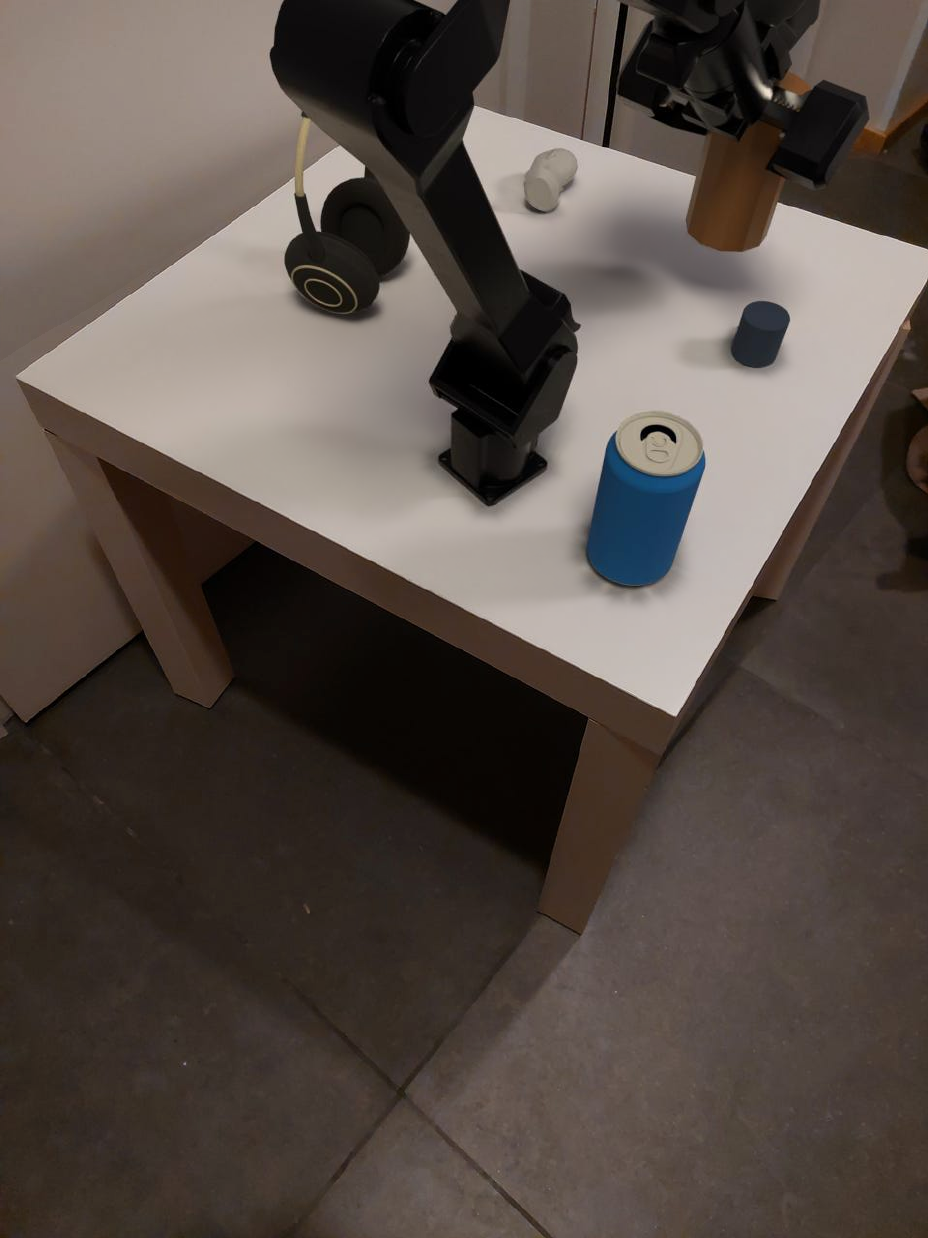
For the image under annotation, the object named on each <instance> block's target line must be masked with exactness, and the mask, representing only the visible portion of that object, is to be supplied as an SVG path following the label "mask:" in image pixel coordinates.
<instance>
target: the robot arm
mask: <svg viewBox="0 0 928 1238" xmlns="http://www.w3.org/2000/svg"><path fill="white" fill-rule="evenodd" d="M616 1H617V2H619V3H621V4H623V5H626V6H628V7H631V8H634V9H636V10H639V11H641V12H644V13H647V14H649V15H651V16H653V19H651V20H650V21H648V22H647V23H646V24H644V26H643V28H642V30H641V32H640V34H639V36H638V38H637V39H636V41H635V43H634V44H633V46H632V48H631V50H630V52H629V54H628V56H627V58H626V60H625V61H624V63H623V65H622V67H621V69H620V71H619V72H618V74H617V79H616V84H615V85H616V86H615V88H616V95H617V97H618V98H619V100H620V101H621V103H622V104H623V106H624V107H627V108H629V109H631V110H632V111H633V110H634V111H635V112H638V113H640V114H643V115H644V116H646V117H648V119H651V120H654V121H656V122H658V123H661V124H662V125H665V126H667V127H669V128H672V129H676V130H679V131H683V132H688V133H691V134H695V135H700V136H703V137H706V133H707V129H708V130H710V131H713V132H715V133H717V134H720V135H722V136H724V137H726V138H729V139H731V140H733V141H735V142H739V140H740V139H741V137H742V135H743V134H744V132H745V130H746V129H747V127H750V126H752V125H753V124H754V123H755V122H756V121H758V120H759V121H761V122H764V123H766V124H768V125H771V126H773V127H775V128H778V129H780V130H782V131H781V133H780V135H779V136H780V139H781V142H780V143H779V145H778V148H777V149H776V151H775V153H774V154H773V156H772V157H771V159H770V161H769V162H768V164H767V166H766V167H765V170H768V171H770V172H772V173H774V174H776V175H779V176H781V177H783V178H785V180H788V181H790V182H792V183H796V184H799V185H802V186H803V187H806V188H807V189H810V190H812V191H814V192H817V191H819V190H821V189H822V190H823V189H824V188H827V187H828V185H829V184H830V183H831V181H832V180H833V178H834V176H835V175H836V173H837V171H838V170H839V168H840V167H841V165H842V164H843V162H844V160H845V159H846V157H847V155H848V154H849V153H850V152H851V149H852V148H853V146H854V145H855V143H856V141H857V140H858V138H859V136H860V135H861V133H862V132H863V130H864V129H865V127H866V126H867V124H868V122H869V121H870V111H869V106H868V100H867V96H866V95H864V94H861V93H859V92H856V91H854V90H851V89H849V88H847V87H844V86H841V85H838V84H835V83H833V82H830V81H828V80H826V79H822V80H821V81H819V82H818V83H817V84H815V85H814V86H813V87H812V89H811V90H809V91H807V92H805V93H804V94H803V95H798V94H796V93H793V92H791V91H788V90H786V89H783V88H781V87H778V86H776V85H773V83H774V82H775V80H776V79H779V80H781V81H782V80H783V79H784V77H785V75H786V73H787V72H788V71H789V70H790V68H791V67H792V65H793V62H792V59H791V54H790V51H792V49H793V48H794V47H795V45H797V43H798V42H799V41H800V40H801V38H802V37H803V36H804V34H805V33H806V32H807V30H809V28H810V27H811V26H813V25H814V24H815V23H816V22H817V20H818V19H819V14H820V8H821V7H820V6H821V0H616ZM510 3H511V0H456V1H455V3H454V4H453V5H452V7H450V9H449V10H448V11H447V12H446V14H445V13H444V12H442V11H440V10H438V9H435V8H433V7H431V6H429V5H426V4H425V3H422V2H420V1H417V0H282V2H281V4H280V7H279V10H278V13H277V19H276V22H275V26H274V32H273V46H272V47H270V50H269V60H270V65H271V71H272V73H273V75H274V77H275V79H276V82H277V83H278V86H279V89H281V91H282V92H283V93H284V94H285V96H286V97H288V98H289V99H290V100H291V101H292V102H293V104H295V106H296V107H297V108H299V109H300V110H301V112H302V111H303V112H304V113H305V114H306V115H307V116H308V117H309V118H310V119H311V120H312V121H311V122H312V123H313V124H314V125H315V126H316V127H317V128H319V130H320V131H322V132H323V133H324V134H325V135H327V136H328V137H329V138H330V139H331V140H332V141H334V142H335V143H336V144H338V145H339V146H340V147H341V148H343V149H344V150H345V151H346V152H348V154H350V155H351V156H352V157H354V158H355V159H356V160H357V161H359V162H360V163H361V164H362V165H363V166H364V167H365V166H366V167H367V168H368V169H369V170H370V171H371V172H372V173H373V174H374V175H375V176H376V178H377V180H378V181H379V183H380V185H381V186H382V188H383V190H384V191H385V193H386V195H387V196H388V198H389V200H390V201H391V203H392V205H393V206H394V208H395V210H396V211H397V213H398V215H399V216H400V218H401V219H402V221H403V223H404V224H405V226H406V228H407V229H408V231H409V233H410V237H411V238H412V239H413V241H414V242H415V244H416V246H417V248H418V249H419V251H420V252H421V255H422V256H423V258H424V259H425V261H426V262H427V265H428V266H429V268H430V269H431V271H432V272H433V274H434V276H435V277H436V279H437V281H438V283H439V284H440V285H441V287H442V289H443V291H444V292H445V294H446V296H447V297H448V299H449V301H450V302H451V304H452V306H453V307H454V310H455V311H456V313H455V315H454V317H453V319H452V321H451V323H450V324H449V332H450V335H451V337H450V339H449V341H448V343H447V345H446V347H445V349H444V350H443V352H442V354H441V355H440V357H439V360H438V362H437V364H436V366H434V369H433V371H432V373H431V375H430V376H429V378H428V384H429V386H430V388H431V391H432V393H433V395H434V396H435V397H436V398H438V399H439V400H440V399H442V400H443V401H445V402H446V403H447V404H449V405H451V406H452V407H453V408H456V409H455V410H454V411H452V412H451V413H450V447H449V448H448V449H445V450H444V451H443V452H441V453H439V454H438V456H437V463H438V464H439V465H440V466H441V467H442V468H444V469H445V470H446V471H447V472H448V473H449V474H450V475H452V476H453V477H454V478H455V479H456V480H458V482H460V483H461V484H462V485H464V487H466V489H468V490H469V491H470V492H471V493H472V494H474V495H475V496H476V497H477V498H478V499H479V500H481V501H482V502H483V503H484V504H486V505H488V506H494V505H495V504H497V503H498V502H500V501H502V500H503V499H505V498H507V496H509V495H511V494H512V493H513V492H515V491H516V490H518V489H520V488H521V487H523V486H524V485H525V484H528V483H529V482H530V481H531V480H533V479H534V478H536V477H538V476H539V475H541V474H542V473H544V472H545V471H547V469H548V466H549V465H548V463H549V462H548V461H547V459H545V458H544V457H543V456H542V455H540V454H539V453H538V452H537V451H536V449H537V448H538V443H539V435H540V434H541V433H543V432H544V431H545V430H546V429H547V428H548V427H550V426H551V425H552V424H553V423H554V422H556V421H557V420H558V419H559V417H560V414H561V412H562V409H563V405H564V403H565V400H566V397H567V395H568V392H569V389H570V386H571V383H572V382H573V379H574V375H575V372H576V369H577V366H578V362H579V361H578V360H579V358H578V351H579V343H578V337H577V335H576V332H578V331H579V330H580V329H581V327H582V326H581V325H582V324H580V323H579V322H577V321H575V319H574V316H573V311H572V304H571V302H570V300H569V298H568V296H567V294H565V293H564V292H562V291H561V290H559V289H557V288H555V287H553V286H551V285H549V284H548V283H546V282H544V281H542V280H540V279H539V278H537V277H535V276H533V275H532V274H530V273H528V272H527V271H525V270H522V269H521V268H520V267H519V265H518V263H517V261H516V257H515V256H514V254H513V252H512V249H511V247H510V245H509V242H508V240H507V238H506V235H505V233H504V232H503V228H502V227H501V225H500V222H499V220H498V218H497V215H496V213H495V211H494V208H493V207H492V204H491V202H490V200H489V197H488V195H487V192H486V191H485V189H484V186H483V184H482V182H481V180H480V177H479V175H478V173H477V171H476V169H475V166H474V164H473V162H472V159H471V157H470V155H469V152H468V150H467V148H466V146H465V142H464V137H465V133H466V131H467V129H468V125H469V123H470V120H471V117H472V114H473V112H474V108H475V99H474V93H473V92H474V91H475V90H476V89H477V87H479V85H480V84H481V82H482V81H483V80H484V79H485V78H486V76H487V75H488V74H489V73H490V72H491V70H492V68H494V66H495V65H496V64H497V62H498V60H499V58H500V55H501V51H502V50H501V49H502V45H503V41H504V40H503V39H504V36H505V30H506V24H507V19H508V14H509V7H510ZM774 100H775V102H773V101H774ZM779 101H780V102H779ZM778 102H779V104H778ZM783 104H784V106H783ZM788 105H789V107H787V106H788ZM793 107H794V108H793ZM792 108H793V109H792ZM798 109H799V112H798V111H797V110H798Z"/></svg>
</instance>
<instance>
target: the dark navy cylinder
mask: <svg viewBox="0 0 928 1238" xmlns="http://www.w3.org/2000/svg"><path fill="white" fill-rule="evenodd" d="M790 322H791V316H790V313H789V312H788V310H787V309H786V308H785V307H783V306H782V305H780V304H778V303H776V302H773V301H769V300H756V301H752V302H749V303H748V304H746V305H745V307H743V310H742V313H741V316H740V319H739V323H738V326H737V328H736V331H735V335H734V338H733V341H732V344H731V346H730V347H731V348H730V352H731V355H732V356H733V359H735V360H736V361H737V362H738V363H740V364H742V365H743V366H746V367H750V368H765V367H768V366H771V365H772V364H773V363H774V362H775V360H776V359H777V358H778V357H777V356H778V353H779V351H780V349H781V347H782V344H783V341H784V338H785V335H786V333H787V329H788V328H789V325H790Z"/></svg>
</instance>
